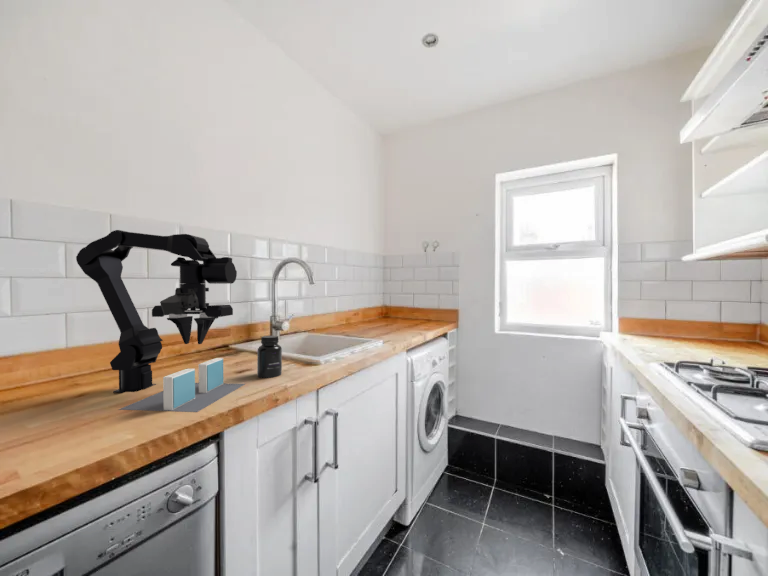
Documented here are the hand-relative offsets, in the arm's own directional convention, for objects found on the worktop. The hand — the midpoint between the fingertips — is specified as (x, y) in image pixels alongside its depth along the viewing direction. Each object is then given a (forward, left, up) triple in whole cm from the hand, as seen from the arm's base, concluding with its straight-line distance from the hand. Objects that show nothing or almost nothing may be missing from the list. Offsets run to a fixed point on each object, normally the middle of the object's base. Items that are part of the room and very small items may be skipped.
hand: (193, 343), depth 82 cm
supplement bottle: (+14, +13, -12) cm, 23 cm away
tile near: (+5, -11, -11) cm, 17 cm away
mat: (+3, -5, -12) cm, 14 cm away
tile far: (+5, 0, -11) cm, 12 cm away
